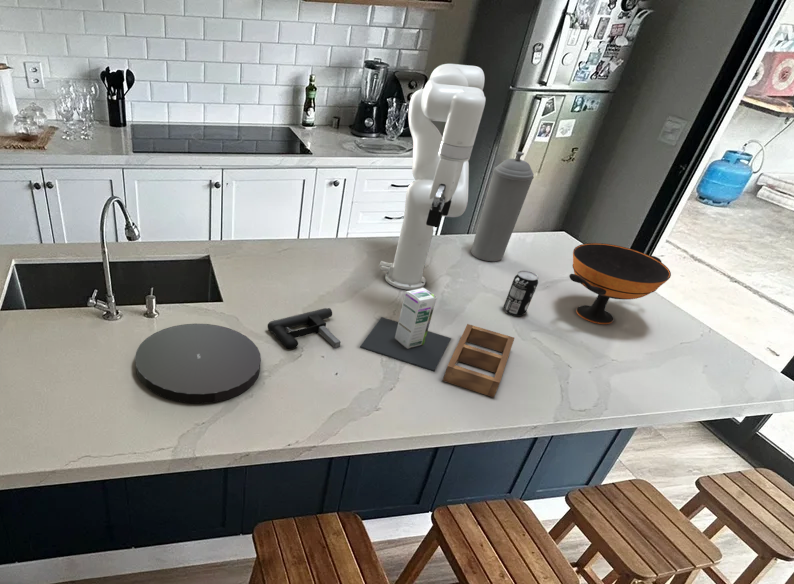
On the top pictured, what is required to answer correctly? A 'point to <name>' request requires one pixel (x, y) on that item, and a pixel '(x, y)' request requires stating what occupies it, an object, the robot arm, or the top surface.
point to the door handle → (311, 319)
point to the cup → (614, 276)
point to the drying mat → (387, 345)
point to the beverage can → (521, 293)
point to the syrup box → (415, 317)
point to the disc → (197, 363)
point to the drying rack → (479, 360)
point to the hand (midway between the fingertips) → (436, 220)
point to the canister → (502, 208)
